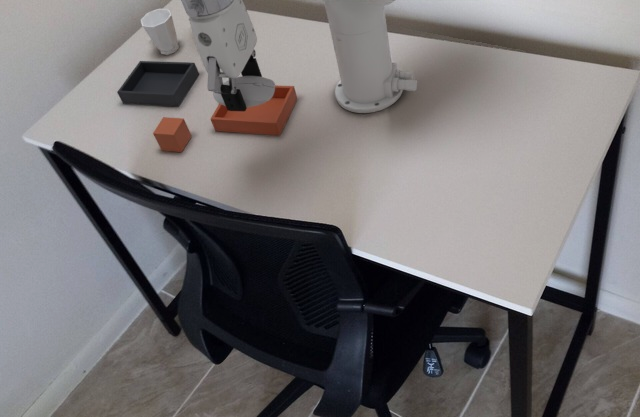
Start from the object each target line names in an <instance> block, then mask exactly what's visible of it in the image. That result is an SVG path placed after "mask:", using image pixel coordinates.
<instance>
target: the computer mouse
mask: <svg viewBox="0 0 640 417" xmlns="http://www.w3.org/2000/svg"><path fill="white" fill-rule="evenodd" d="M235 79H236V87H237V89H240V91H241V94H242V96H243V99H244V102H245V104H246V107H253V106H257V105H261V104H263V103H265V102H267V101H269V100H270V99H271V98H272V97H273V95H274V92H275V85H276V83H275V81H274V80H272V79H270V78H267V77H263V76H262V77H259V76H242V75H241V76H238V77H236V78H235ZM223 85H229V79H228V80H226V81H223ZM212 97H213V99H214V100H215V102H216V103H217V104H218V105H219V104H221V105H224V106H226V105H225V103H224V100H223V98H222V96H221V94H218V93H215V92H212Z"/></svg>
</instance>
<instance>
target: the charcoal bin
mask: <svg viewBox="0 0 640 417" xmlns="http://www.w3.org/2000/svg"><path fill="white" fill-rule="evenodd" d="M199 76H200V71H199V70H198V68H197V65H196V62H186V61H184V62H183V61H155V60H152V61H151V60H139V61H138V63H137V64H136V65H135V67H134V68H133V69H132V71H131V72H130V74H129V75H128V77H126V79H125V81H124V82H123V84H121V86H120V87H119V89H118V90H117V91H116V92H117V96H119V99H120V101H121V102H122V104H124V105H141V106H143V105H144V106H157V107H158V106H159V107H176V108H179V107H180V106H181V104H182V102H183V101H184V99H185V97H187V95H188V93H189V92H190V90H191V89H192V87H193V85H194V84H195V82H196V81H197V79H198V77H199Z"/></svg>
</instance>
